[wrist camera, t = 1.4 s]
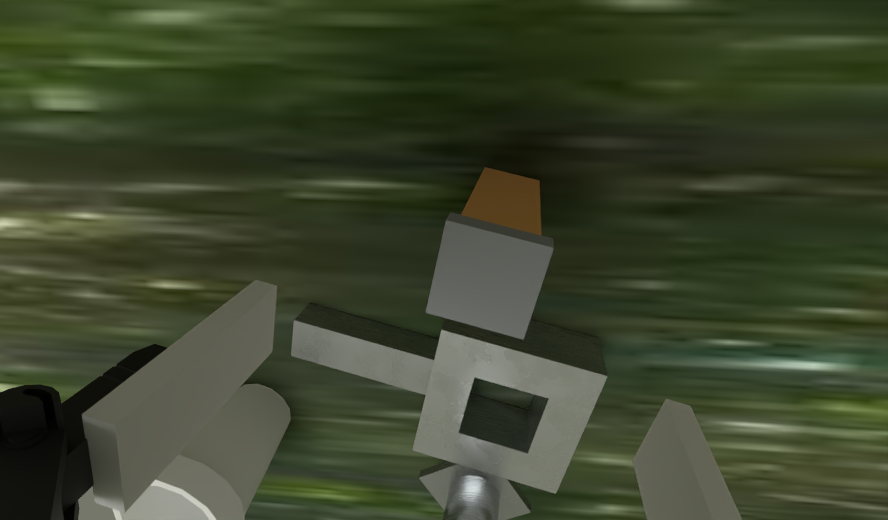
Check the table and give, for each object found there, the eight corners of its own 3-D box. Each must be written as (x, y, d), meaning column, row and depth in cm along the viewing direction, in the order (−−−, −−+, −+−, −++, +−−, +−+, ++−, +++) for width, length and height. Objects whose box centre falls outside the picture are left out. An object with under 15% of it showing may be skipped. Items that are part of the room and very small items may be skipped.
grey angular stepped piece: (314, 260, 39) (153, 401, 22) (598, 337, 37) (649, 555, 20) (297, 438, 47) (170, 636, 31) (527, 509, 45) (523, 761, 29)
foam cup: (312, 389, 44) (231, 507, 33) (299, 457, 48) (223, 584, 36) (220, 358, 45) (108, 462, 33) (215, 427, 49) (113, 542, 37)
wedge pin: (480, 160, 33) (446, 220, 20) (546, 176, 33) (553, 248, 20) (465, 222, 35) (425, 312, 22) (527, 238, 35) (523, 339, 22)
